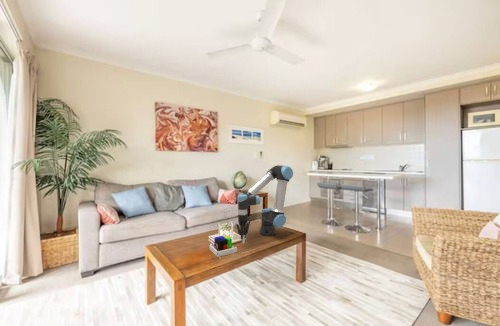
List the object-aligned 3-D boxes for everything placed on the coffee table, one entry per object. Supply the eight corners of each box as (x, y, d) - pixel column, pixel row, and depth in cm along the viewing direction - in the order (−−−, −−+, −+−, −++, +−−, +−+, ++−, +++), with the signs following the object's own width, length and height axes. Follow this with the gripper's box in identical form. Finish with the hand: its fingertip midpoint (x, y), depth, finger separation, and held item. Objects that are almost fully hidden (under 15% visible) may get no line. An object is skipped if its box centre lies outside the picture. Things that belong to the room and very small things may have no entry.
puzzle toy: (214, 250, 167) (214, 237, 167) (226, 247, 172) (226, 234, 172) (219, 255, 159) (219, 241, 158) (231, 252, 164) (231, 239, 164)
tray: (227, 244, 177) (227, 240, 177) (236, 252, 164) (236, 247, 164) (209, 249, 169) (209, 244, 169) (217, 257, 155) (217, 252, 155)
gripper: (247, 211, 181) (247, 239, 182) (233, 214, 174) (233, 243, 175) (252, 213, 175) (252, 242, 176) (237, 216, 168) (238, 246, 169)
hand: (243, 242), depth 176 cm, fingers closed
